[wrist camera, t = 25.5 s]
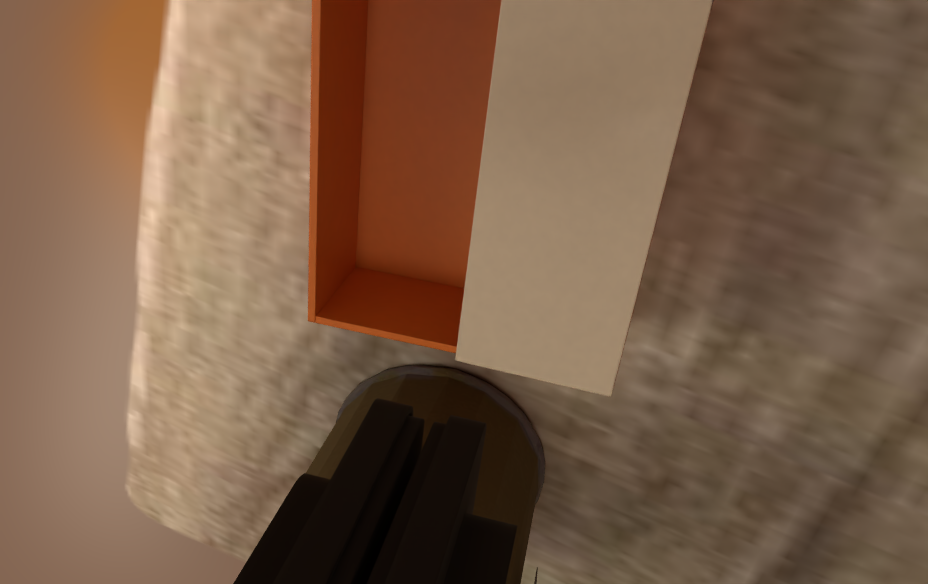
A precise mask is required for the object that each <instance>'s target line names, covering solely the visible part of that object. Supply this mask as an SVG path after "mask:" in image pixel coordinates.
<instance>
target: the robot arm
mask: <svg viewBox="0 0 928 584" xmlns="http://www.w3.org/2000/svg"><path fill="white" fill-rule="evenodd" d="M486 426H487V424H486V423H484V422H480V421H476V420H471V419H467V418H462V417H458V416H454V415H450V417H449V419H448V421H447V424H444V423H440V422H436V421H435V422H434V423H433V425H432V427H431V429H430V432H429V434H428V437H427V439H426V441H425V444H424V446H423V449H422V443H423V433H424V419H423V418H418V417H414V416H413V407H412V406H410V405H406V404H401V403H397V402H393V401H388V400H384V399H379V398H377V399H375V400H374V402H373V403H372V405H371V407H370V409H369V411H368V412H367V414H366V416H365V418H364V420H363V421H362V423H361V425H360V427H359V429H358V430H357V432H356V434H355V436H354V438H353V439H352V441H351V443H350V445H349V447H348V448H347V450H346V452H345V454H344V456H343V458H342V459H341V461H340V463H339V465H338V467H337V468H336V470H335V472H334V474H333V476H332V477H331V479H327V478H323V477H318V476H314V475H310V474H306V473H304V474H303V475H302V476H300V477H299V479H298V480H297V481H296V483H295V484H294V485H293V487H292V489H291V490H290V492H289V494H288V495H287V497H286V499H285V500H284V502H283V503H282V505H281V507H280V508H279V510H278V512H277V513H276V515H275V516H274V518H273V520H272V521H271V523H270V525H269V526H268V528H267V530H266V531H265V533H264V534H263V536H262V538H261V539H260V541H259V543H258V544H257V546H256V548H255V549H254V551H253V552H252V554H251V556H250V557H249V559H248V561H247V562H246V564H245V565H244V567H243V569H242V570H241V572H240V574H239V575H238V577H237V579H236V581H235V582H234V583H233V584H506V580H507V575H508V570H509V566H510V561H511V556H512V551H513V546H514V541H515V536H516V531H517V525H513V524H509V523H505V522H501V521H497V520H493V519H489V518H485V517H481V516H477V515H473V508H474V502H475V496H476V490H477V483H478V477H479V471H480V465H481V459H482V452H483V446H484V440H485V434H486Z"/></svg>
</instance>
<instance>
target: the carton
mask: <svg viewBox="0 0 928 584" xmlns="http://www.w3.org/2000/svg"><path fill="white" fill-rule="evenodd" d="M712 4H713V3H712ZM500 7H501V0H312V50H311V128H310V205H309V283H308V321H310V322H316V323H319V324H324V325H328V326H333V327H338V328H342V329H347V330H351V331H356V332H361V333H365V334H370V335H374V336H379V337H384V338H388V339H393V340H398V341H402V342H407V343H411V344H416V345H421V346H425V347H430V348H434V349H439V350H444V351H448V352H453V353H456V350H457V342H458V334H459V326H460V318H461V311H462V303H463V295H464V287H465V280H466V272H467V264H468V256H469V248H470V241H471V233H472V225H473V217H474V209H475V202H476V194H477V186H478V178H479V171H480V163H481V155H482V147H483V139H484V132H485V124H486V116H487V108H488V100H489V93H490V85H491V77H492V69H493V61H494V54H495V46H496V38H497V30H498V23H499V15H500ZM711 8H712V7H711ZM710 11H711V10H710ZM709 15H710V14H709ZM708 19H709V18H708ZM707 23H708V22H707ZM706 27H707V26H706ZM705 31H706V30H705ZM704 35H705V34H704ZM703 39H704V38H703ZM702 42H703V41H702ZM701 46H702V45H701ZM700 50H701V49H700ZM699 54H700V53H699ZM698 58H699V57H698ZM697 62H698V61H697ZM696 66H697V65H696ZM695 70H696V69H695ZM694 74H695V73H694ZM693 77H694V76H693ZM692 81H693V80H692ZM691 85H692V84H691ZM690 89H691V88H690ZM689 93H690V92H689ZM688 97H689V96H688ZM687 101H688V100H687ZM686 105H687V104H686ZM685 108H686V107H685ZM684 112H685V111H684ZM683 116H684V115H683ZM682 120H683V119H682ZM681 124H682V123H681ZM680 128H681V127H680ZM679 132H680V131H679ZM678 136H679V135H678ZM676 143H677V142H676ZM675 147H676V146H675ZM674 151H675V150H674ZM673 155H674V154H673ZM672 159H673V158H672ZM671 163H672V162H671ZM670 167H671V166H670ZM668 174H669V173H668ZM667 178H668V177H667ZM666 182H667V181H666ZM665 186H666V185H665ZM664 190H665V189H664ZM663 194H664V193H663ZM662 198H663V197H662ZM661 202H662V201H661ZM659 209H660V208H659ZM658 213H659V212H658ZM657 217H658V216H657ZM656 221H657V220H656ZM655 225H656V224H655ZM654 229H655V228H654ZM653 233H654V232H653ZM651 240H652V239H651ZM650 244H651V243H650ZM649 248H650V247H649ZM648 252H649V251H648ZM647 256H648V255H647ZM646 260H647V259H646ZM645 264H646V263H645ZM642 275H643V274H642ZM641 279H642V278H641ZM640 283H641V282H640ZM639 287H640V286H639ZM638 291H639V290H638ZM637 295H638V294H637ZM634 306H635V305H634ZM633 310H634V309H633ZM632 314H633V313H632ZM631 318H632V317H631ZM630 322H631V321H630ZM629 326H630V325H629ZM628 330H629V329H628ZM626 337H627V336H626ZM625 341H626V340H625ZM624 345H625V344H624ZM623 349H624V348H623ZM622 353H623V352H622ZM621 357H622V356H621ZM620 361H621V360H620ZM617 372H618V371H617ZM616 376H617V375H616ZM615 380H616V379H615ZM614 384H615V383H614Z"/></svg>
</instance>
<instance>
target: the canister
mask: <svg viewBox="0 0 928 584" xmlns="http://www.w3.org/2000/svg"><path fill="white" fill-rule="evenodd" d="M377 398H379V399H384V400H388V401H393V402H397V403H401V404H406V405H410V406H412V407H413V416H414V417H418V418H423V419H424V433H423V443H422V449H423V446H424V444H425V441H426V439H427V437H428V434H429V432H430V429H431V427H432V425H433V423H434V422H435V421H436V422H440V423H444V424H447V421H448V419H449V417H450V415H454V416H458V417H462V418H467V419H471V420H476V421H480V422H484V423H486V424H487V426H486V434H485V440H484V446H483V452H482V459H481V465H480V471H479V477H478V483H477V490H476V496H475V502H474V508H473V515H477V516H481V517H485V518H489V519H493V520H497V521H501V522H505V523H509V524H513V525H517V531H516V536H515V541H514V546H513V551H512V556H511V561H510V566H509V570H508V575H507V580H506V584H520V583H521V577H522V572H523V566H524V561H525V556H526V550H527V545H528V539H529V534H530V528H531V523H532V518H533V512H534V507H535V504H536V502H537V501H538V499H539V496H540V493H541V489H542V486H543V483H544V474H545V460H544V454H543V449H542V446H541V443H540V440H539V438H538V436H537V435H536V433H535V432H534V430H533V428H532V426H531V424H530V423H529V421H528V419H527V417H526V416H525V414H524V413H523V412H522V411H521V410H520V409H519V408H518V407H517V406H516V405H515V404H514V403H513V402H512V401H511V400H510V399H509V398H508V397H507V396H506V395H504V394H503V393H501V392H500V391H499V390H497V389H496V388H494V387H493V386H491V385H489V384H488V383H486V382H485V381H482V380H480V379H478V378H475V377H473V376H471V375H468V374H466V373H464V372H461V371H459V370H457V369H451V368H443V367H435V366H427V365H410V366H403V367H397V368H392V369H387V370H385V371H383V372H381V373H379V374H377V375H375V376H373V377H372V378H370V379H368V380H366V381H364V382H362V383H360V384H359V385H358V386H357V387H356V388H355V390H354V391H353V392H352V393H351V394H350V395H349V396H348V397H347V398H346V400H345V401H344V403H343V405H342V407H341V409H340V410H339V412H338V417H337V421H336V424H335V426H334V428H333V429H332V431H331V433H330V434H329V436H328V437H327V439H326V441H325V442H324V444H323V446H322V447H321V449H320V451H319V452H318V454H317V456H316V457H315V459H314V461H313V462H312V464H311V466H310V467H309V469H308V471H307V472H306V474H310V475H314V476H318V477H323V478H327V479H331V477H332V476H333V474H334V472H335V470H336V468H337V467H338V465H339V463H340V461H341V459H342V458H343V456H344V454H345V452H346V450H347V448H348V447H349V445H350V443H351V441H352V439H353V438H354V436H355V434H356V432H357V430H358V429H359V427H360V425H361V423H362V421H363V420H364V418H365V416H366V414H367V412H368V411H369V409H370V407H371V405H372V403H373V402H374V400H375V399H377ZM537 569H538V567H537ZM536 582H537V571H536V577H535V583H534V584H536Z"/></svg>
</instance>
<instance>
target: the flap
mask: <svg viewBox="0 0 928 584" xmlns="http://www.w3.org/2000/svg"><path fill="white" fill-rule="evenodd" d="M712 3H713V0H501V7H500V15H499V23H498V30H497V38H496V46H495V54H494V61H493V69H492V77H491V85H490V93H489V100H488V108H487V116H486V124H485V132H484V139H483V147H482V155H481V163H480V171H479V178H478V186H477V194H476V202H475V209H474V217H473V225H472V233H471V241H470V248H469V256H468V264H467V272H466V280H465V287H464V295H463V303H462V311H461V318H460V326H459V334H458V342H457V350H456V357H455V360H456V361H459V362H464V363H468V364H472V365H476V366H481V367H485V368H489V369H494V370H498V371H502V372H506V373H511V374H515V375H519V376H524V377H528V378H532V379H536V380H541V381H545V382H549V383H554V384H558V385H562V386H566V387H571V388H575V389H579V390H584V391H588V392H592V393H596V394H601V395H605V396H609V397H611V395H612V391H613V387H614V383H615V379H616V375H617V371H618V368H619V364H620V360H621V356H622V352H623V348H624V344H625V340H626V336H627V333H628V329H629V325H630V321H631V317H632V313H633V309H634V305H635V302H636V298H637V294H638V290H639V286H640V282H641V278H642V274H643V271H644V267H645V263H646V259H647V255H648V251H649V247H650V243H651V239H652V236H653V232H654V228H655V224H656V220H657V216H658V212H659V208H660V205H661V201H662V197H663V193H664V189H665V185H666V181H667V177H668V173H669V170H670V166H671V162H672V158H673V154H674V150H675V146H676V142H677V139H678V135H679V131H680V127H681V123H682V119H683V115H684V111H685V107H686V104H687V100H688V96H689V92H690V88H691V84H692V80H693V76H694V73H695V69H696V65H697V61H698V57H699V53H700V49H701V45H702V41H703V38H704V34H705V30H706V26H707V22H708V18H709V14H710V10H711V7H712Z"/></svg>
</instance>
